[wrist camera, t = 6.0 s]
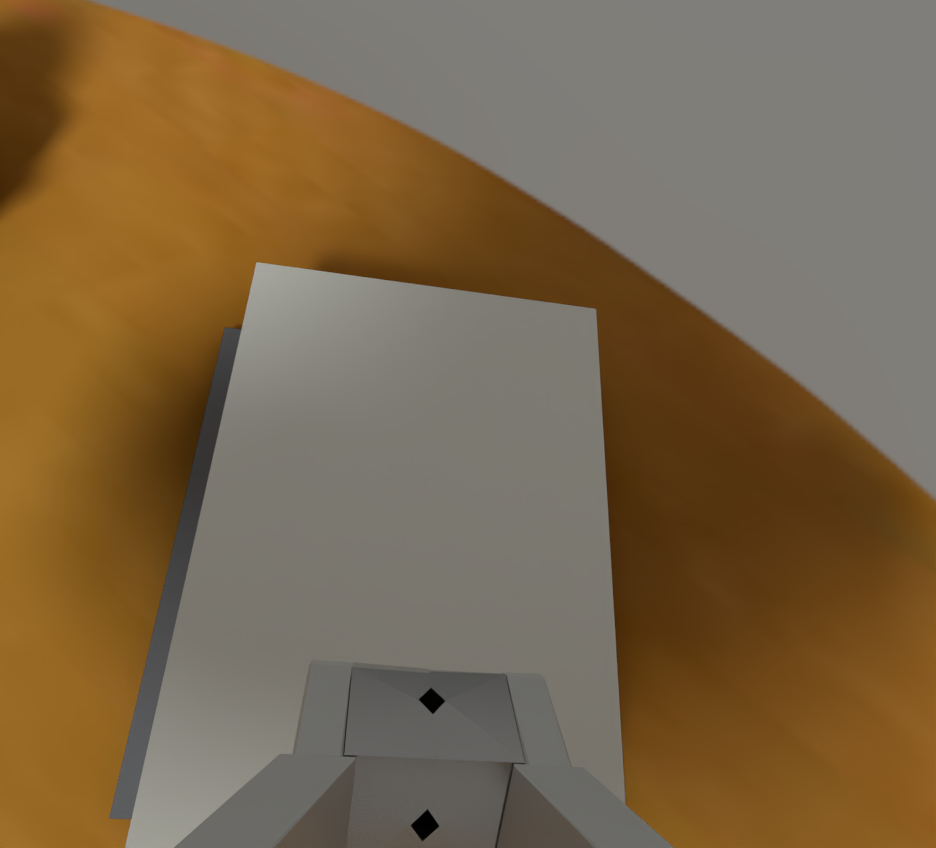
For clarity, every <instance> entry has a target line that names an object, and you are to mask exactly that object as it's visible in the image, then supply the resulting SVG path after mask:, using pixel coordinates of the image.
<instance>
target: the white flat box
mask: <svg viewBox="0 0 936 848" xmlns="http://www.w3.org/2000/svg"><path fill="white" fill-rule="evenodd" d="M312 660H325V661H340V662H350V663H351V671H352V663H353V662H355V663H367V664H379V665H390V666H402V667H414V668H426V669H430V670H447V671H464V672H482V673H499V674H502V673H503V672H509V673H540V674H541V675H542V676H543V677H544V678H545V681H546V685H547V688H548V691H549V694H550V698H551V701H552V704H553V707H554V710H555V714H556V717H557V720H558V723H559V726H560V730H561V733H562V736H563V739H564V742H565V746H566V749H567V752H568V755H569V758H570V762H571V765H572V767H583V768H585V769H586V770H587V771H588V772H589V773H590V774H591V775H593V776H594V777H595V778H596V779H597V780H598V781H599V782H601V783H602V784H603V785H604V786H605V787H606V788H607V789H608V790H610V791H611V792H612V793H613V794H614V795H615V796H616V797H617V798H619V799H620V800H621V801H622V802H623V803H624V804H625V788H624V771H623V754H622V737H621V721H620V704H619V687H618V670H617V653H616V636H615V619H614V602H613V586H612V569H611V552H610V535H609V518H608V501H607V484H606V467H605V451H604V434H603V417H602V400H601V383H600V366H599V349H598V332H597V316H596V309H593V308H586V307H579V306H571V305H564V304H557V303H550V302H542V301H535V300H528V299H520V298H513V297H506V296H499V295H491V294H484V293H477V292H469V291H462V290H455V289H448V288H440V287H433V286H426V285H418V284H411V283H404V282H396V281H389V280H382V279H375V278H367V277H360V276H353V275H345V274H338V273H331V272H324V271H316V270H309V269H302V268H294V267H287V266H280V265H273V264H265V263H258V262H257V263H256V267H255V272H254V276H253V281H252V285H251V290H250V294H249V298H248V303H247V307H246V312H245V316H244V321H243V325H242V330H241V334H240V339H239V343H238V347H237V352H236V356H235V361H234V365H233V370H232V374H231V379H230V383H229V387H228V392H227V396H226V401H225V405H224V410H223V414H222V419H221V423H220V427H219V432H218V436H217V441H216V445H215V450H214V454H213V459H212V463H211V468H210V472H209V476H208V481H207V485H206V490H205V494H204V499H203V503H202V508H201V512H200V516H199V521H198V525H197V530H196V534H195V539H194V543H193V548H192V552H191V556H190V561H189V565H188V570H187V574H186V579H185V583H184V588H183V592H182V597H181V601H180V605H179V610H178V614H177V619H176V623H175V628H174V632H173V637H172V641H171V645H170V650H169V654H168V659H167V663H166V668H165V672H164V677H163V681H162V685H161V690H160V694H159V699H158V703H157V708H156V712H155V717H154V721H153V726H152V730H151V734H150V739H149V743H148V748H147V752H146V757H145V761H144V766H143V770H142V774H141V779H140V783H139V788H138V792H137V797H136V801H135V806H134V810H133V814H132V819H131V823H130V828H129V832H128V837H127V841H126V846H125V848H174V847H175V846H176V845H177V844H178V843H180V842H181V841H182V840H183V839H184V838H185V837H186V836H187V835H189V834H190V833H191V832H192V831H193V830H194V829H195V828H197V827H198V826H199V825H200V824H201V823H202V822H203V821H204V820H206V819H207V818H208V817H209V816H210V815H211V814H212V813H213V812H215V811H216V810H217V809H218V808H219V807H220V806H221V805H222V804H224V803H225V802H226V801H227V800H228V799H229V798H230V797H232V796H233V795H234V794H235V793H236V792H237V791H238V790H239V789H241V788H242V787H243V786H244V785H245V784H246V783H247V782H248V781H250V780H251V779H252V778H253V777H254V776H255V775H256V774H257V773H259V772H260V771H261V770H262V769H263V768H264V767H265V766H267V765H268V764H269V763H270V762H271V761H272V760H273V759H274V758H276V757H277V756H278V755H279V754H292V753H293V747H294V742H295V737H296V732H297V726H298V721H299V716H300V711H301V705H302V700H303V695H304V690H305V684H306V679H307V674H308V668H309V665H310V663H311V661H312ZM350 678H351V676H350Z"/></svg>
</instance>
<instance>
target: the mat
mask: <svg viewBox="0 0 936 848" xmlns="http://www.w3.org/2000/svg"><path fill="white" fill-rule="evenodd" d="M241 330H242V329H234V328H226V327H225V329H224V333H223V338H222V342H221V346H220V350H219V355H218V359H217V363H216V367H215V372H214V376H213V380H212V384H211V389H210V393H209V397H208V401H207V406H206V410H205V414H204V418H203V423H202V427H201V431H200V435H199V440H198V444H197V448H196V452H195V457H194V461H193V465H192V469H191V474H190V478H189V482H188V486H187V490H186V495H185V499H184V503H183V507H182V512H181V516H180V520H179V524H178V529H177V533H176V537H175V541H174V546H173V550H172V554H171V558H170V563H169V567H168V571H167V575H166V580H165V584H164V588H163V592H162V597H161V601H160V605H159V609H158V614H157V618H156V622H155V626H154V631H153V635H152V639H151V643H150V648H149V652H148V656H147V660H146V664H145V669H144V673H143V677H142V681H141V686H140V690H139V694H138V698H137V703H136V707H135V711H134V715H133V720H132V724H131V728H130V732H129V737H128V741H127V745H126V749H125V754H124V758H123V762H122V766H121V771H120V775H119V779H118V783H117V788H116V792H115V796H114V800H113V805H112V809H111V813H110V817H109V818H111V819H132V814H133V810H134V806H135V801H136V797H137V792H138V788H139V783H140V779H141V774H142V770H143V766H144V761H145V757H146V752H147V748H148V743H149V739H150V734H151V730H152V726H153V721H154V717H155V712H156V708H157V703H158V699H159V694H160V690H161V685H162V681H163V677H164V672H165V668H166V663H167V659H168V654H169V650H170V645H171V641H172V637H173V632H174V628H175V623H176V619H177V614H178V610H179V605H180V601H181V597H182V592H183V588H184V583H185V579H186V574H187V570H188V565H189V561H190V556H191V552H192V548H193V543H194V539H195V534H196V530H197V525H198V521H199V516H200V512H201V508H202V503H203V499H204V494H205V490H206V485H207V481H208V476H209V472H210V468H211V463H212V459H213V454H214V450H215V445H216V441H217V436H218V432H219V427H220V423H221V419H222V414H223V410H224V405H225V401H226V396H227V392H228V387H229V383H230V379H231V374H232V370H233V365H234V361H235V356H236V352H237V347H238V343H239V339H240V334H241Z"/></svg>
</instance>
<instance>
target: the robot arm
mask: <svg viewBox="0 0 936 848" xmlns="http://www.w3.org/2000/svg"><path fill="white" fill-rule="evenodd" d="M350 676H351V678H350ZM174 848H674V847H673V846H672V845H670V844H669V843H668V842H667V841H666V840H665V839H664V838H663V837H661V836H660V835H659V834H658V833H657V832H656V831H655V830H654V829H652V828H651V827H650V826H649V825H648V824H647V823H646V822H644V821H643V820H642V819H641V818H640V817H639V816H638V815H637V814H635V813H634V812H633V811H632V810H631V809H630V808H629V807H628V806H626V805H625V804H624V803H623V802H622V801H621V800H620V799H619V798H617V797H616V796H615V795H614V794H613V793H612V792H611V791H610V790H608V789H607V788H606V787H605V786H604V785H603V784H602V783H601V782H599V781H598V780H597V779H596V778H595V777H594V776H593V775H591V774H590V773H589V772H588V771H587V770H586V769H585V768H583V767H572V765H571V762H570V758H569V755H568V752H567V749H566V746H565V742H564V739H563V736H562V733H561V730H560V726H559V723H558V720H557V717H556V714H555V710H554V707H553V704H552V701H551V698H550V694H549V691H548V688H547V685H546V681H545V678H544V677H543V676H542V675H541V674H540V673H509V672H503V673H502V674H499V673H482V672H464V671H447V670H430V669H426V668H414V667H402V666H390V665H379V664H367V663H355V662H353V663H352V671H351V663H350V662H340V661H325V660H312V661H311V663H310V665H309V668H308V674H307V679H306V684H305V690H304V695H303V700H302V705H301V711H300V716H299V721H298V726H297V732H296V737H295V742H294V747H293V753H292V754H279V755H278V756H277V757H276V758H274V759H273V760H272V761H271V762H270V763H269V764H268V765H267V766H265V767H264V768H263V769H262V770H261V771H260V772H259V773H257V774H256V775H255V776H254V777H253V778H252V779H251V780H250V781H248V782H247V783H246V784H245V785H244V786H243V787H242V788H241V789H239V790H238V791H237V792H236V793H235V794H234V795H233V796H232V797H230V798H229V799H228V800H227V801H226V802H225V803H224V804H222V805H221V806H220V807H219V808H218V809H217V810H216V811H215V812H213V813H212V814H211V815H210V816H209V817H208V818H207V819H206V820H204V821H203V822H202V823H201V824H200V825H199V826H198V827H197V828H195V829H194V830H193V831H192V832H191V833H190V834H189V835H187V836H186V837H185V838H184V839H183V840H182V841H181V842H180V843H178V844H177V845H176V846H175V847H174Z"/></svg>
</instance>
